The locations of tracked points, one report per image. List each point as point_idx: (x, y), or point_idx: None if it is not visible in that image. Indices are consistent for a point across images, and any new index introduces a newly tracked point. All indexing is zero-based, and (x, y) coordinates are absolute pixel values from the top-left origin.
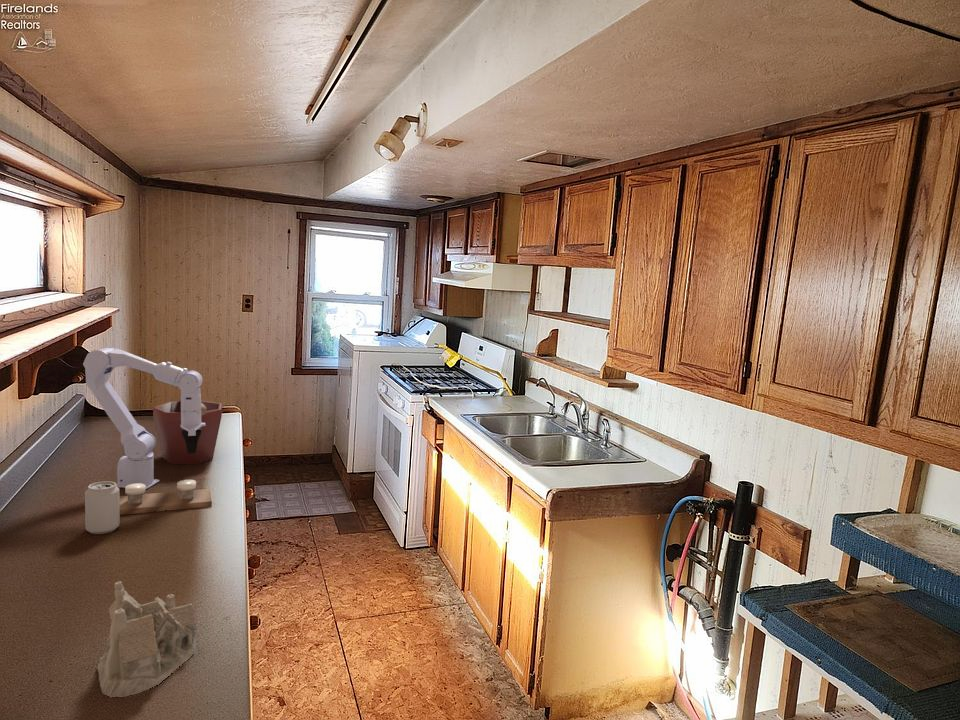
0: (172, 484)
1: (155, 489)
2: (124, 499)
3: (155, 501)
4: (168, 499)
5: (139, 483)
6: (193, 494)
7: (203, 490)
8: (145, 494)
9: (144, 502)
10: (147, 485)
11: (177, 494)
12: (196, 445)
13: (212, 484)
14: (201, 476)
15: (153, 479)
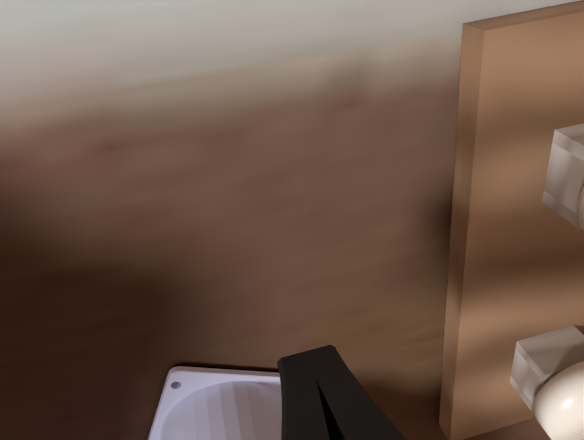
0: (228, 291)
1: (309, 339)
2: (498, 395)
3: (580, 283)
4: (580, 238)
5: (558, 418)
6: (558, 126)
7: (506, 74)
8: (463, 350)
9: (570, 320)
10: (272, 388)
11: (522, 216)
12: (388, 423)
13: (250, 31)
14: (26, 157)
15: (223, 397)
